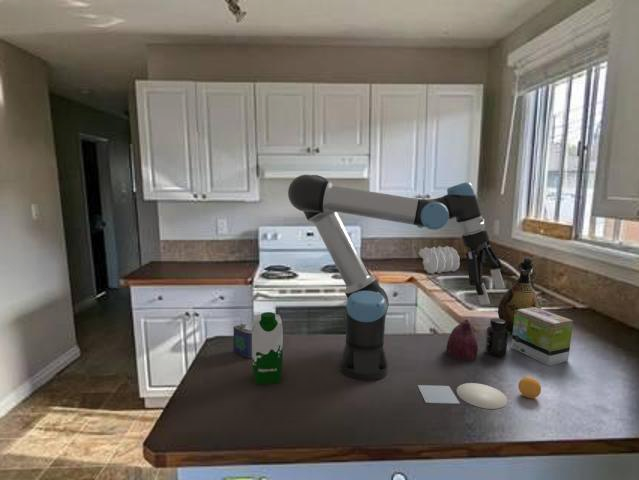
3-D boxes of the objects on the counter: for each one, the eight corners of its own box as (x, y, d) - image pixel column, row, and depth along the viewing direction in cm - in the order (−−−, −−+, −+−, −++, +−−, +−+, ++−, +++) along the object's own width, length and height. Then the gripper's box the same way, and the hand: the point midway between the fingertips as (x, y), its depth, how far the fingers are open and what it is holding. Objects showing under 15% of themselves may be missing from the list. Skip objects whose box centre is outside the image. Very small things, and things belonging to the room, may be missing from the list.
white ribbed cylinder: (456, 278, 265) (428, 279, 254) (441, 262, 278) (413, 263, 267) (469, 256, 256) (440, 256, 245) (451, 240, 269) (423, 240, 258)
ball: (523, 402, 106) (525, 382, 105) (513, 391, 112) (515, 373, 111) (544, 402, 106) (546, 383, 105) (533, 391, 112) (535, 373, 111)
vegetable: (477, 370, 131) (490, 333, 125) (445, 363, 133) (456, 326, 127) (473, 350, 140) (485, 315, 134) (443, 344, 142) (453, 309, 136)
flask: (255, 357, 129) (255, 326, 127) (248, 360, 127) (248, 328, 125) (237, 349, 135) (237, 319, 133) (230, 352, 132) (230, 321, 131)
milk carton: (252, 386, 111) (252, 318, 108) (251, 371, 119) (251, 307, 116) (283, 384, 112) (284, 316, 110) (280, 369, 121) (280, 306, 118)
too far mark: (425, 403, 104) (425, 402, 104) (417, 385, 113) (417, 385, 113) (459, 403, 104) (459, 403, 104) (448, 386, 113) (448, 385, 113)
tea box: (509, 348, 141) (513, 308, 139) (529, 344, 145) (533, 305, 143) (548, 366, 128) (553, 322, 126) (569, 361, 132) (574, 319, 130)
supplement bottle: (480, 349, 140) (483, 317, 138) (499, 349, 140) (502, 316, 139) (490, 358, 133) (494, 324, 131) (510, 357, 134) (513, 323, 132)
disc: (466, 408, 102) (466, 407, 102) (450, 383, 115) (450, 382, 115) (516, 409, 102) (516, 408, 102) (494, 384, 115) (494, 383, 115)
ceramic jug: (537, 341, 148) (546, 263, 144) (493, 332, 156) (500, 258, 152) (540, 328, 162) (548, 256, 158) (499, 320, 170) (506, 252, 166)
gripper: (469, 240, 111) (491, 310, 113) (499, 219, 129) (517, 281, 130) (444, 244, 117) (466, 312, 118) (476, 224, 134) (495, 283, 136)
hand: (493, 296), depth 124 cm, fingers open, 13 cm apart
